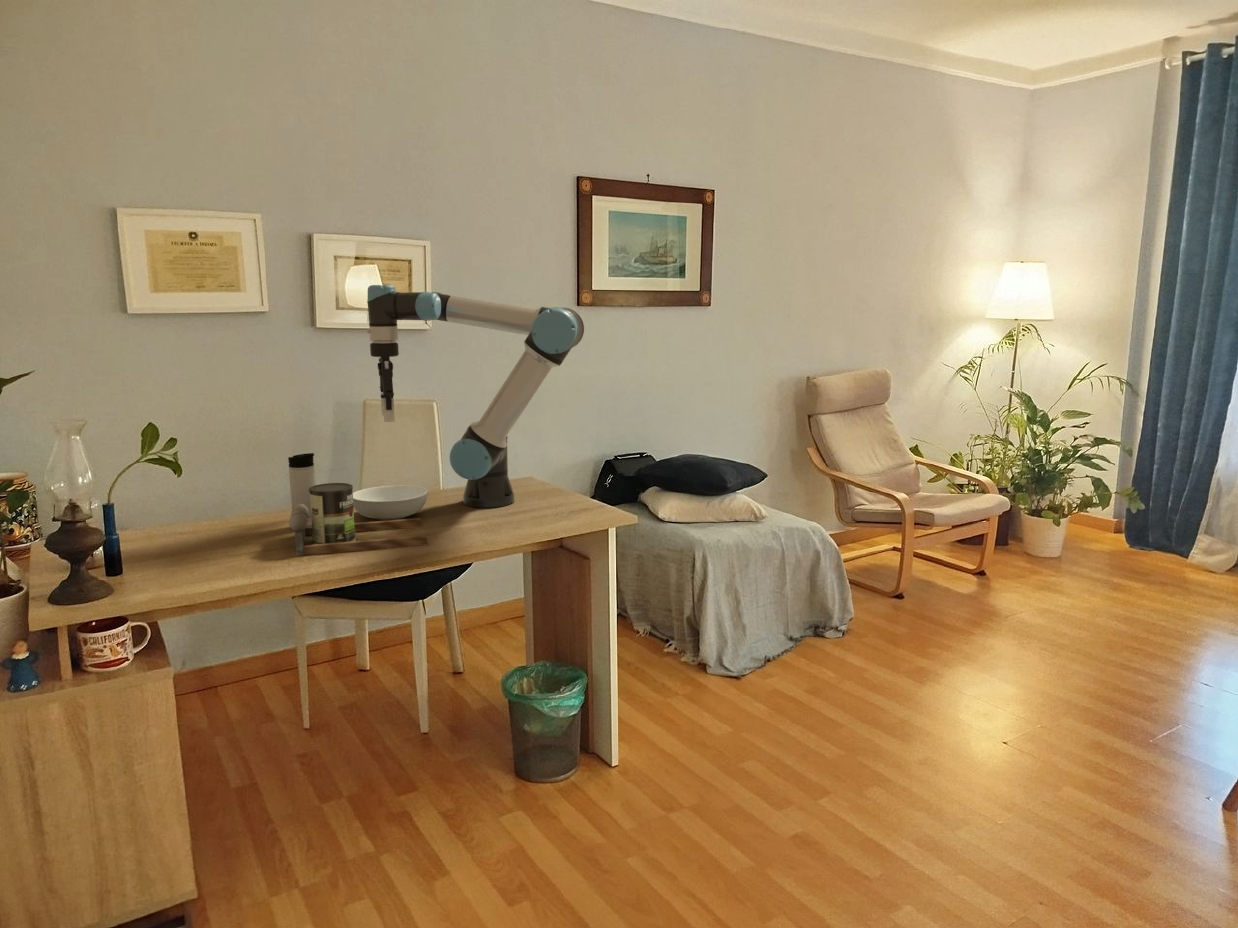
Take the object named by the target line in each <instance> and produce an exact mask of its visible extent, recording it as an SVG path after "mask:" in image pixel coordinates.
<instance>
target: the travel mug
mask: <svg viewBox="0 0 1238 928" xmlns="http://www.w3.org/2000/svg"><path fill="white" fill-rule="evenodd" d="M314 456H315V453H314V452H310V453H309V452H307V453H302V454H301V453H300V454H296V455H295V454H294V455H293V456H289V457H288V458H287V460H288V461H287V462H288V475H289V477H288V478H289V484H290V485H289V487H290V498H291V499H290V500H291V503H290V504H291V509H292V508H293V507H294V506H295V505H297V504H304V505H305V506H307V508H308V520H307V526H306V527H310V526H312V516H311V504H310V492H309V488H310V487H312V486H315V485H316V475H315V471H316V470H315V463H314V462H315V461H314Z"/></svg>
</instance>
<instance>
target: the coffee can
mask: <svg viewBox="0 0 1238 928" xmlns="http://www.w3.org/2000/svg"><path fill="white" fill-rule="evenodd" d="M309 492H310V504H311V516H312V532H313V535H312V545H314V544H326V543H338V542H350V541H357V540H356V532H355V526H354V523H355V514H354V512H355V511H354V510H355V508H354V507H353V493H354V492H353V484H351V483H347V482H346V483H345V482H330V483H329V482H328V483H321V484H315V486H312V487H310V488H309Z"/></svg>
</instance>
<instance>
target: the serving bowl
mask: <svg viewBox="0 0 1238 928" xmlns="http://www.w3.org/2000/svg"><path fill="white" fill-rule="evenodd" d="M428 493H429V492H428V489H427V488H425V487H422V486H418V485H404V484H402V485H400V484H399V485H380V486H376V487H375V486H374V487H368V488H363V489H360V490H357V491H354V492H353V509H354V510H355V511H356V512H357V513H359V514H360V515H361V516H363V517H365V518H369V519H373V520H374V519H375V520H378V521H388V520H401V519H405V518H406V517H409V516H412V515H414V514H416V513H418V512H420V511H421V510H422V509H423V508H424V507H425V504H426V502H427V499H428Z"/></svg>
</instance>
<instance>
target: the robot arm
mask: <svg viewBox="0 0 1238 928" xmlns="http://www.w3.org/2000/svg"><path fill="white" fill-rule="evenodd" d="M366 302H367V313H368V314H367V315H368V328H369V329H367V330H366V333H367V334H369V341H370V342H371V343H370V344H369V349H370V356H371V357H374V358H378V363H377V370H378V377H379V390H380V408H381V416H383V422H384V423H390V422H391V423H393V422H395V421H396V418H395V401H394V397H395V396H394V395H395V392H394V384H393V375H394V372H393V370H394V363H393V362H392V360H391V359H390V358H391V357H398V356H399V354H400V352H399V343H398V342H397V341H399V331H398V330H399V329H398V321H423V322H427V321H428V322H430V321H440V322H448V323H454V324H455V323H456V324H458V325H459V324H460V325H466V326H471V327H476V328H477V327H478V328H484V329H489V330H494V331H495V330H496V331H500V332H501V331H502V332H506V333H513V334H519V335H523V336H527V337H526V338H525V340H524V342H523V344H524V349H525V350H524V351H523V353H522V354H521V356H520V358H519V359H518V360H517V363H516V364H515V365H514V367H513V368H512V370H511V371H510V373H509V375H508V376H507V377H506V380H505V381H504V382H503V384H502V385H501V387H500V388H499V390H498V391H497V393H496V394H495V396H494V398H493V400H492V401H491V402H490V404H489V406H488V407H487V408H486V410H485V412H483V415H482V416H481V418H480V419H479V420H477V421H473V422H471V423H470V424H469V426H468V427H466V430H465V432H464V433H463V435H462V436H461V438H460V439H459V440H457V441H456V442H455V443H454V444H453V446H452V447H451V449H450V452H449V462H450V466H451V468H452V470H453V471H454V472H455V474H456V475H458V476H459V477H460V478H463V479H466V480H467V482H466V485H465V487H464V492H463V494H462V495H463V496H462V497H463V498H462V500H463V504H464V505H465V506H468V507H473V508H498V507H505V506H509V505H511V503H512V504H513V503H514V502H515V492H514V490H513V487H512V484H511V481H510V478H509V471H508V470H509V466H508V465H509V463H508V461H509V459H508V435H509V433H510V431H511V430H512V429H513V427H514V426H515V424H516V423H517V422H518V420H519V418H520V417H521V415H522V414H523V412H524V411H525V409H526V408H527V406H528V404H529V403H530V402H531V400H532V398H533V397H534V396H535V394H536V393H537V391H538V390H539V388H540V387H541V385H542V384H543V382H544V380H546V377H547V376H548V374H549V373H550V372H551V370H552V369H553V368H556V367H560V366H561V365H562V364H563V362H564V361H565V359H566V358H567V356H568V355H569V353H570V351H571V350H572V349H573V348H575V347H576V346H577V345H578V344H579V343H580V342H581V341H582V339H583V337H584V333H585V325H584V324H585V323H584V321H583V319H582V317H581V316H580V315H579V313H578V312H577V311H576V310H574V309H572V308H570V307H558V306H557V307H556V306H555V307H554V306H553V307H546V306H540V307H538V308H537V309H535V308H529V307H523V306H517V305H511V304H504V303H500V302H492V301H486V300H482V299H481V300H480V299H475V298H474V299H473V298H467V297H462V296H457V295H449V294H444V293H442V292H437V291H432V292H431V291H430V292H429V291H421V292H420V291H417V292H416V291H414V292H413V291H412V292H408V291H407V292H399V291H397V290H396V286H395V285H392V284H371V285H369V286H368V287H367V301H366Z"/></svg>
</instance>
